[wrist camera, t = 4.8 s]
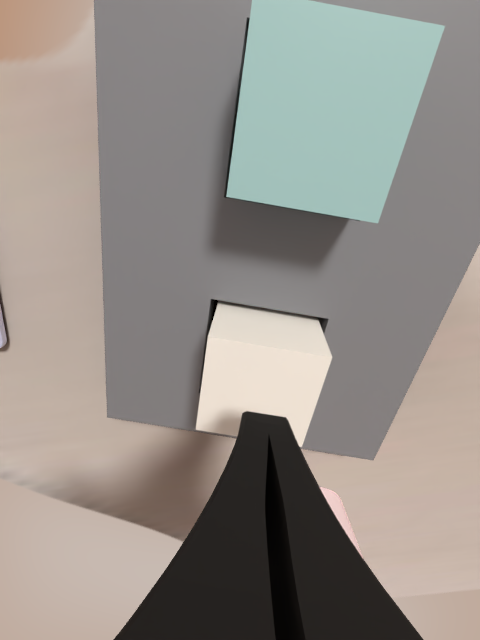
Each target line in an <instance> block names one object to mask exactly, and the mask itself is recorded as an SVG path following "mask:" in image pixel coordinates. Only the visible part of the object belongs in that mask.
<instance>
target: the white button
mask: <svg viewBox="0 0 480 640" xmlns="http://www.w3.org/2000/svg"><path fill="white" fill-rule="evenodd" d="M331 360H332V355H331V352H330V350H329V347H328V344H327V342H326V339H325V336H324V334H323V331H322V328H321V325H320V323H319V320H318V318H315V317H309V316H304V315H298V314H292V313H286V312H280V311H274V310H268V309H262V308H256V307H250V306H245V305H239V304H233V303H227V302H221V301H218V305H217V308H216V311H215V315H214V318H213V321H212V324H211V328H210V331H209V334H208V339H207V347H206V354H205V362H204V370H203V377H202V385H201V392H200V400H199V407H198V415H197V423H196V430H200V431H206V432H212V433H218V434H225V435H231V436H238V431H239V427H240V422H241V417H242V413H244V412H246V411H250V412H256V413H262V414H268V415H275V416H281V417H286V418H287V419H288V421H289V423H290V426H291V428H292V431H293V433H294V436H295V438H296V440H297V443H298V445H299V447H302V445H303V442H304V439H305V436H306V433H307V430H308V428H309V425H310V422H311V419H312V416H313V413H314V410H315V407H316V404H317V401H318V398H319V395H320V392H321V389H322V386H323V383H324V380H325V378H326V375H327V372H328V369H329V366H330V363H331Z"/></svg>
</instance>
